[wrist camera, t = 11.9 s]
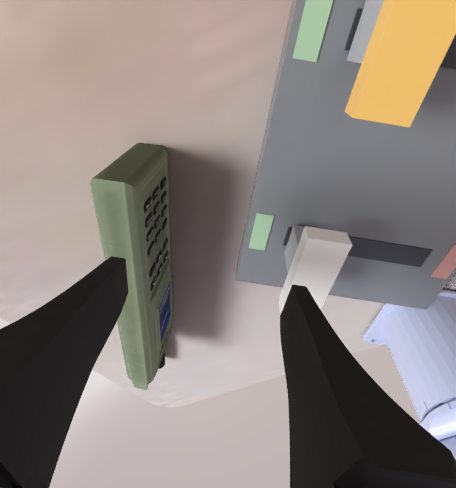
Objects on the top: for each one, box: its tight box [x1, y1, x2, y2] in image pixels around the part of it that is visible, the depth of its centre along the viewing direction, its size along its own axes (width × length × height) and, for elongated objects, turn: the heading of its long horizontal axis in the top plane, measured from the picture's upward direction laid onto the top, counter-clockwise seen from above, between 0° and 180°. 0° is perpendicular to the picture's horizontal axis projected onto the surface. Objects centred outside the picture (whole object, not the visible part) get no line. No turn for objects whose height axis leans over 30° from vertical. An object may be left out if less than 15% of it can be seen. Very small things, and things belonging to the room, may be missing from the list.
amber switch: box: [345, 0, 456, 128], centre depth 12 cm, size 2×6×4 cm, turn 172°
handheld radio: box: [90, 143, 173, 390], centre depth 24 cm, size 7×3×25 cm
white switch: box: [279, 225, 352, 313], centre depth 19 cm, size 2×6×4 cm, turn 172°
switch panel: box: [236, 0, 456, 310], centre depth 18 cm, size 16×22×2 cm
